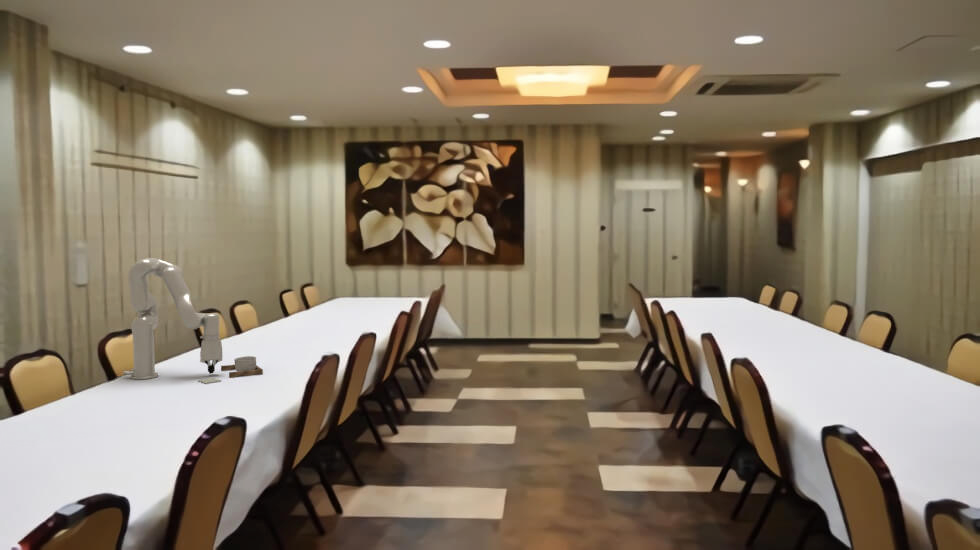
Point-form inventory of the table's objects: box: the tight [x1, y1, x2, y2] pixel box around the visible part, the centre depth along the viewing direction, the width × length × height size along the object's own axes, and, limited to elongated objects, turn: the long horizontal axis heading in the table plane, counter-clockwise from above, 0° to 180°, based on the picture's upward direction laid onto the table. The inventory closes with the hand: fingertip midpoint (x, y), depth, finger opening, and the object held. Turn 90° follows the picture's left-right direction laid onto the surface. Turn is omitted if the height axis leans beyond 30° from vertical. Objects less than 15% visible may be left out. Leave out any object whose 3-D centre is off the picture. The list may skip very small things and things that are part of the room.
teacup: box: [233, 355, 257, 372], centre depth 371 cm, size 14×11×8 cm
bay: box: [220, 364, 264, 379], centre depth 371 cm, size 16×20×2 cm
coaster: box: [197, 377, 222, 385], centre depth 349 cm, size 8×8×1 cm
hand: (211, 372), depth 363 cm, fingers closed
